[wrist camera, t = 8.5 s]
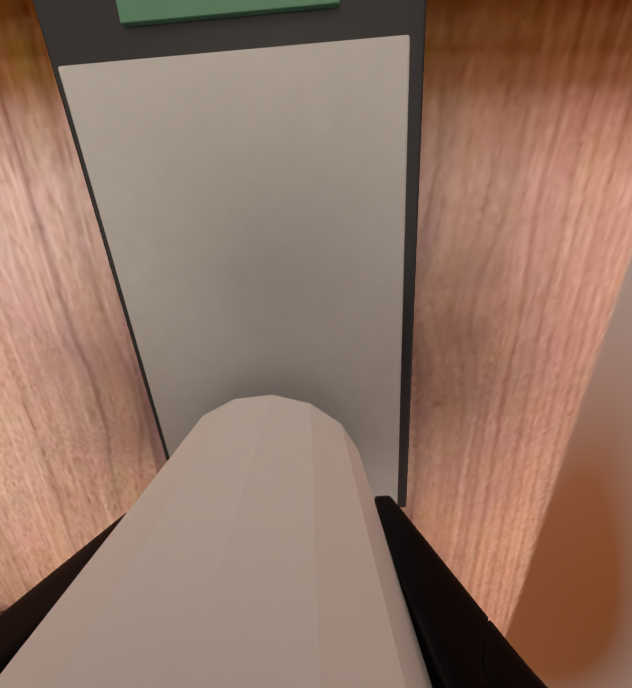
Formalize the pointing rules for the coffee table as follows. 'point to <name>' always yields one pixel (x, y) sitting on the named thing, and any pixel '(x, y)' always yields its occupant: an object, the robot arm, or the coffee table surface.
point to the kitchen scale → (256, 200)
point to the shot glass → (238, 571)
